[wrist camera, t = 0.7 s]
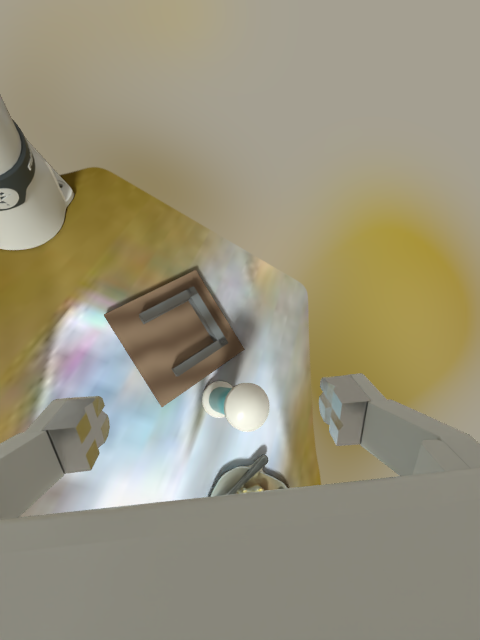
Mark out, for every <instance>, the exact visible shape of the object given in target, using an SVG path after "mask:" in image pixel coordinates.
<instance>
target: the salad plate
mask: <svg viewBox="0 0 480 640" xmlns="http://www.w3.org/2000/svg"><path fill="white" fill-rule="evenodd" d="M267 463H268V457H267V456H266V455H261V456H260V457H259V458H258V459H257V460H256V461H255V462H254V463H253V464H251V465H249V466H238V467H236V468H234V469H232V470H230V471H228V472H226V473H224V474H223V475H222V477H221V478H220V479H219V480H218V482H217V484H216V485H215V487H214V489H213V491H212V493H211V496H210V497H212V496H222V495H231V494H240V493H249V492H259V491H268V490H278V489H287V486H286V484H284V483H283V482H282V481H280V480H278V479H276V478H275V477H273V476H271V475H269V474H266V473H265V472H264V471H263V470H262V468H263V467H264V466H265V465H266V464H267Z"/></svg>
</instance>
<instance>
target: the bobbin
mask: <svg viewBox="0 0 480 640" xmlns="http://www.w3.org/2000/svg"><path fill="white" fill-rule="evenodd" d="M202 405H203V408H204V410H205V411H206V412H207V413H208V414H209V415H211V416H213V417H216V418H223V417H226V419H227V421H228V422H229V423H230V424H231V425H232V426H233V427H234V428H236V429H238V430H240V431H244V432H251V431H254V430H256V429H258V428H259V427H261V426H262V425H263V424H264V422H265V421H266V419H267V417H268V413H269V400H268V397H267V395H266V393H265V391H264V390H263V389H262V388H261V387H259V386H258V385H256V384H252V383H241V384H238V385H236V386H234V387H232V385H230V384H229V383H227V382H224V381H216V382H213V383H211V384H209V385H208V386H207V387H206V388H205V390H204V392H203V394H202Z"/></svg>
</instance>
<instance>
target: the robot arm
mask: <svg viewBox="0 0 480 640" xmlns="http://www.w3.org/2000/svg"><path fill="white" fill-rule="evenodd" d="M60 186H62V188H60ZM73 197H74V192H73V191H72V189H71V187H70V186H69V185H68V184H67V183H66V182H65V181H64V180H63V179H62V177H61V176H60V175H59V174H58V173H57V172H56V171H55V170H54V169H53V168H52V167H51V165H50V164H49V163H48V162H47V161H46V160H45V159H44V158H43V157H42V156H41V155H40V153H39V152H38V151H37V150H36V149H35V148H34V147H33V146H32V145H31V144H30V143H29V142H28V140H27V139H26V138H25V136H24V135H23V133H22V131H21V130H20V128H19V127H18V125H17V124H16V123H15V122H14V121H13V120H12V118H11V116H10V114H9V112H8V110H7V108H6V106H5V104H4V102H3V100H2V97H1V95H0V249H6V250H22V249H29V248H33V247H36V246H39V245H41V244H44V243H45V242H47V241H49V240H50V239H51V238H53V237H54V236H55V235H56V234H57V233H58V231H59V230H60V229H61V227H62V225H63V222H64V218H65V211H66V208H67V206H68V205H69V204H70V202H71V201H72V199H73ZM320 387H321V389H322V391H323V393H322V394H321V395H320V396H319V407H320V413H321V416H322V418H323V420H324V422H325V423H327V424H328V425H330V428H329V432H330V434H331V436H332V437H333V440H334V442H335V443H336V445H337V446H341V445H356V444H361V446H362V447H364V448H365V449H366V450H367V451H369V452H370V453H371V454H373V455H374V456H375V457H376V458H378V459H379V460H380V461H381V462H383V463H384V464H385V465H387V466H388V467H389V468H391V469H392V470H393V471H394V472H396V473H397V474H398V475H400V476H398V477H389V478H380V479H371V480H362V481H353V482H343V483H334V484H325V485H315V486H306V487H297V488H287V489H278V490H268V491H259V492H249V493H240V494H231V495H222V496H212V497H203V498H194V499H185V500H175V501H166V502H157V503H148V504H139V505H129V506H120V507H111V508H101V509H92V510H83V511H74V512H64V513H55V514H46V515H37V516H27V517H20V516H21V515H22V514H23V513H24V512H25V511H26V510H27V509H28V508H29V507H30V506H31V505H32V504H34V503H35V502H36V501H37V500H38V499H39V498H40V497H41V496H42V495H43V494H44V493H45V492H47V491H48V490H49V489H50V488H51V487H52V486H53V485H54V484H55V483H56V482H57V481H58V480H59V479H61V478H62V477H63V476H64V474H66V473H74V472H81V471H89V470H91V469H92V467H93V465H94V463H95V461H96V459H97V457H98V455H99V450H98V448H99V447H100V446H101V445H102V444H104V443H105V441H106V439H107V437H108V433H109V428H110V426H109V418H108V415H107V414H105V413H104V412H103V411H102V409H103V408H104V406H105V405H104V402H103V399H102V398H101V397H100V396H93V397H77V398H64V399H56V400H53V401H52V402H51V403H50V404H49V405H48V407H47V408H46V409H45V410H44V411H43V412H42V413H41V414H40V415H39V417H38V418H37V419H36V420H35V421H34V422H33V423H32V424H31V426H30V427H29V428H28V429H27V430H26V431H25V432H24V433H19V434H17V435H15V436H13V437H12V438H10V439H8V440H6V441H5V442H3V443H1V444H0V640H480V444H479V443H478V442H477V441H476V440H475V439H474V438H473V437H471V436H470V435H469V434H467V433H464V432H462V431H460V430H458V429H455V428H453V427H451V426H449V425H447V424H444V423H442V422H440V421H437V420H436V419H433V418H431V417H428V416H427V415H424V414H422V413H420V412H418V411H415V410H413V409H411V408H409V407H407V406H404V405H402V404H400V403H398V402H395V401H393V400H387V399H386V398H385V397H384V396H383V395H382V394H381V393H380V392H379V391H378V390H377V389H376V387H375V386H374V385H373V384H372V383H371V382H370V381H369V380H368V379H367V378H366V377H365V375H363V374H351V375H345V376H335V377H324V378H322V379H321V384H320Z"/></svg>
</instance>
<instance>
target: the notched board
mask: <svg viewBox="0 0 480 640" xmlns="http://www.w3.org/2000/svg"><path fill="white" fill-rule="evenodd" d="M104 316H105V318H106V320H107V321H108V323H109V324H110V326H111V328H112V329H113V331H114V332H115V334H116V335H117V337H118V339H119V340H120V342H121V343H122V345H123V347H124V348H125V350H126V351H127V353H128V355H129V356H130V358H131V359H132V361H133V362H134V364H135V366H136V367H137V369H138V370H139V372H140V374H141V375H142V377H143V378H144V380H145V381H146V383H147V385H148V386H149V388H150V389H151V391H152V393H153V394H154V396H155V397H156V399H157V400H158V402H159V404H160V405H161V407H163V406H164V405H166V404H167V403H169V402H170V401H172V400H173V399H174V398H176V397H177V396H179V395H180V394H182V393H183V392H185V391H186V390H187V389H189V388H190V387H192V386H193V385H195V384H196V383H197V382H199V381H200V380H202V379H203V378H205V377H206V376H207V375H209V374H210V373H212V372H213V371H215V370H216V369H217V368H219V367H220V366H222V365H223V364H225V363H226V362H227V361H229V360H230V359H232V358H233V357H235V356H236V355H237V354H239V353H240V352H242V351H243V350H245V349H244V348H243V346H242V344H241V343H240V341H239V339H238V338H237V336H236V335H235V333H234V331H233V330H232V328H231V326H230V325H229V323H228V322H227V320H226V318H225V317H224V315H223V313H222V312H221V310H220V308H219V307H218V305H217V304H216V302H215V300H214V299H213V297H212V295H211V294H210V292H209V291H208V289H207V287H206V286H205V284H204V282H203V281H202V279H201V277H200V276H199V274H198V273H197V271H196V270H195V271H192V272H190V273H188V274H186V275H184V276H182V277H180V278H178V279H176V280H174V281H172V282H170V283H168V284H166V285H164V286H162V287H160V288H157V289H155V290H153V291H151V292H149V293H147V294H145V295H143V296H141V297H139V298H137V299H135V300H133V301H131V302H129V303H127V304H125V305H123V306H120V307H118V308H116V309H114V310H112V311H110V312H108V313H106V314H104Z"/></svg>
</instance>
